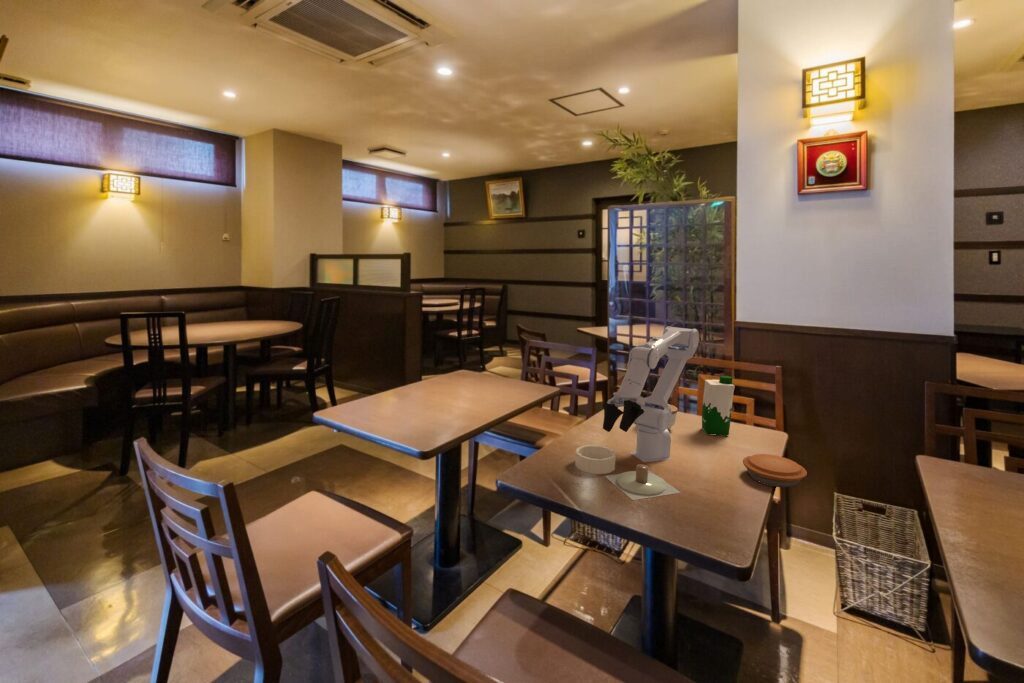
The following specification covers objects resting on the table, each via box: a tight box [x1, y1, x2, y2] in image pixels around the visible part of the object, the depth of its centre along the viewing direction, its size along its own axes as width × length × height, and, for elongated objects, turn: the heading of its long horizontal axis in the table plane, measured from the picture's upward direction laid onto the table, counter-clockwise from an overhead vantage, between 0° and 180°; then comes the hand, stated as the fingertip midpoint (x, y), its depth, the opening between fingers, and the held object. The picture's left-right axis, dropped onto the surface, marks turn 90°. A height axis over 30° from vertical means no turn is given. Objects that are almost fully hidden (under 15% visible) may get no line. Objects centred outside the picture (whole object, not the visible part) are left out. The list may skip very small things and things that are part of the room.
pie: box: [742, 453, 808, 488], centre depth 132 cm, size 15×16×5 cm
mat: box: [603, 469, 682, 501], centre depth 126 cm, size 14×14×1 cm
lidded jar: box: [667, 403, 679, 431], centre depth 171 cm, size 11×11×9 cm
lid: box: [617, 463, 666, 495], centre depth 125 cm, size 12×12×5 cm
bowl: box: [574, 444, 616, 475], centre depth 136 cm, size 11×11×4 cm
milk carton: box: [701, 375, 736, 436], centre depth 167 cm, size 9×9×20 cm
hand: (614, 430), depth 127 cm, fingers open, 7 cm apart
